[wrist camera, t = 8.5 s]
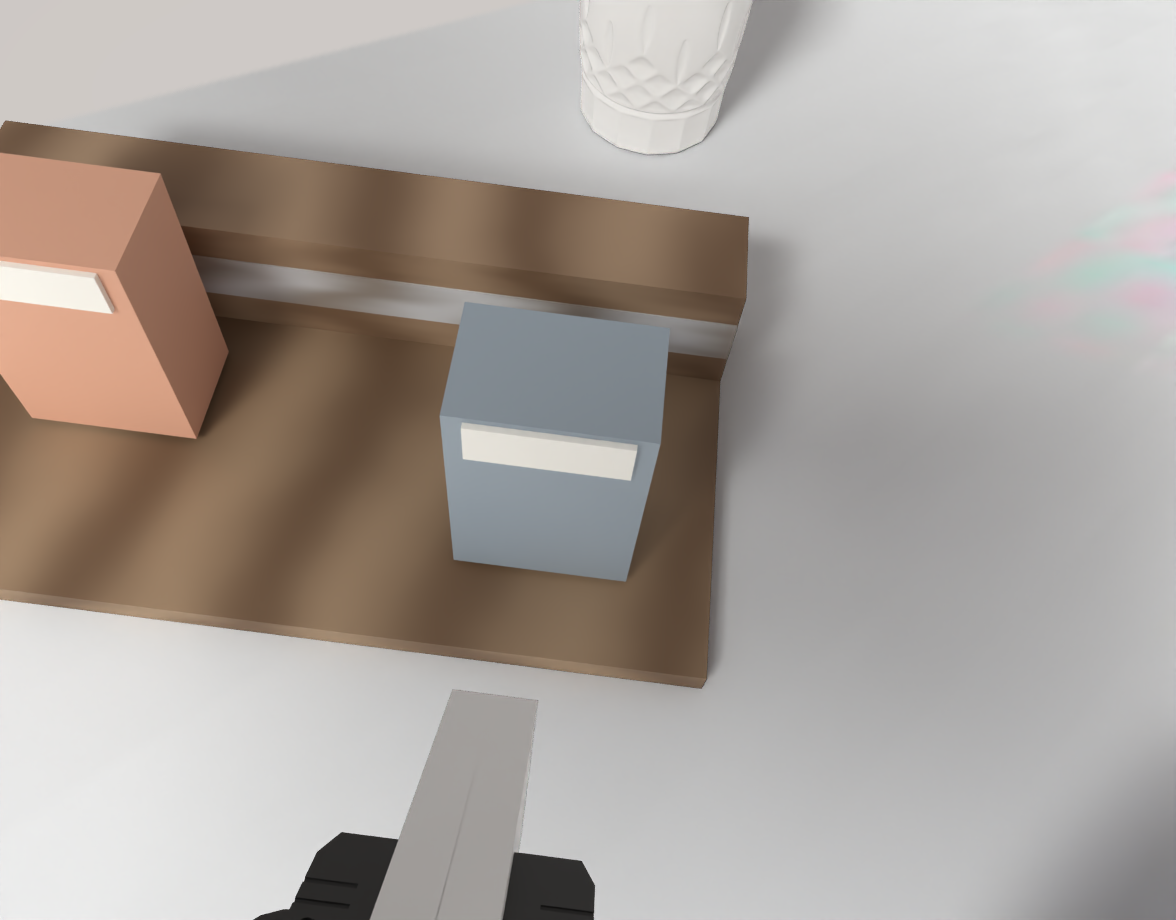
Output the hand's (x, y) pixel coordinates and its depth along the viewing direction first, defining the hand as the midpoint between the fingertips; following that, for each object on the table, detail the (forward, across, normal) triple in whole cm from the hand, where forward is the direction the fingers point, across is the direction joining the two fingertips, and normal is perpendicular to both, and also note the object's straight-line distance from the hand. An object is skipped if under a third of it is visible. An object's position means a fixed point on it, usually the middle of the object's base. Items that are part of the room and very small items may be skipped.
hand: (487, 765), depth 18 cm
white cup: (+37, +2, +15) cm, 39 cm away
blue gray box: (+19, 0, -1) cm, 19 cm away
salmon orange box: (+21, -16, +1) cm, 26 cm away
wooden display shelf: (+22, -8, +1) cm, 24 cm away
